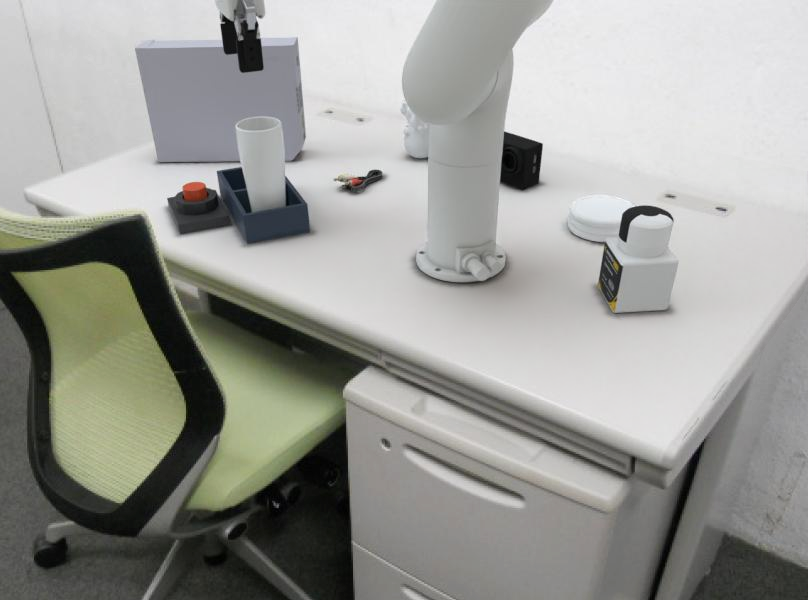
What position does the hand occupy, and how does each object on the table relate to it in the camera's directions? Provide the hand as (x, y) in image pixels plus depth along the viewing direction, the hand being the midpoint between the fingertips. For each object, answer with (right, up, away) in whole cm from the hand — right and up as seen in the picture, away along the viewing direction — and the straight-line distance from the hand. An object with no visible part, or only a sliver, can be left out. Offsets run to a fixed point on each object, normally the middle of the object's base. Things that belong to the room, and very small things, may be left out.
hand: (243, 61), depth 107 cm
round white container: (+52, -21, +11) cm, 57 cm away
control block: (-10, -17, +18) cm, 27 cm away
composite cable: (+16, -10, +26) cm, 32 cm away
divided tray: (0, -17, +18) cm, 24 cm away
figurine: (+26, -2, +36) cm, 45 cm away
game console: (-9, -1, +39) cm, 40 cm away
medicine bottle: (+52, -33, -5) cm, 62 cm away
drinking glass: (+2, -19, +14) cm, 24 cm away
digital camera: (+40, -9, +27) cm, 49 cm away
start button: (-10, -15, +16) cm, 24 cm away
